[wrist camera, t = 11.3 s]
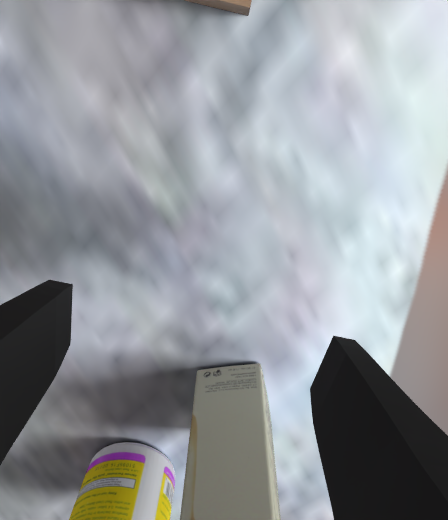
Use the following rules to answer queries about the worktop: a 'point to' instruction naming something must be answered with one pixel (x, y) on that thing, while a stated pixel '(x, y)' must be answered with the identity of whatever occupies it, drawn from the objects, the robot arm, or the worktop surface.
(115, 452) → the supplement bottle
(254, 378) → the skincare box
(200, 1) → the walnut block
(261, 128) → the worktop surface
